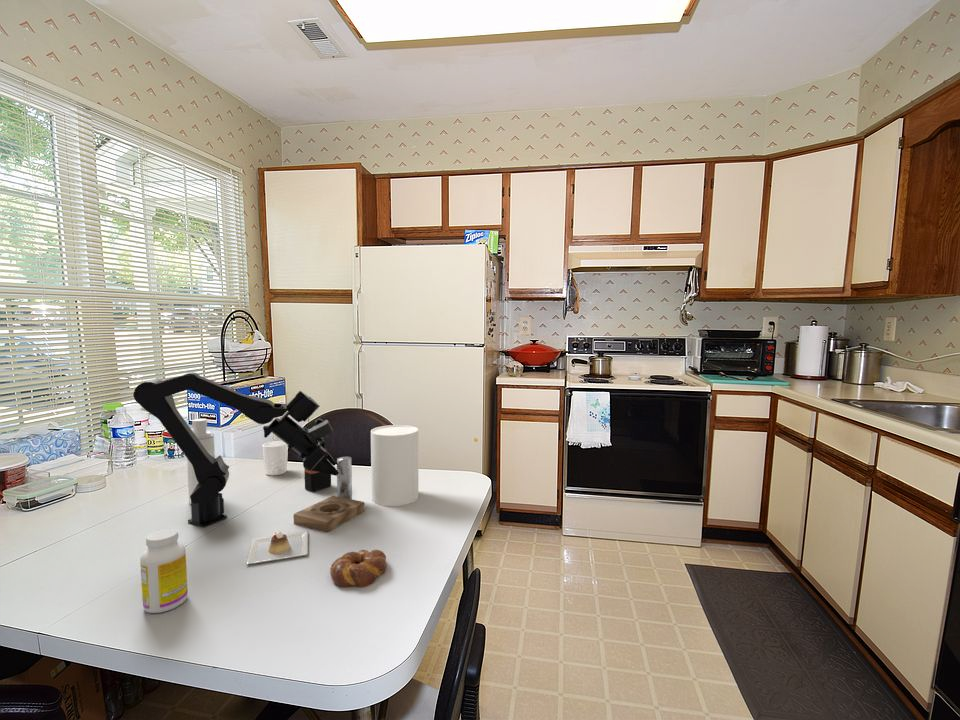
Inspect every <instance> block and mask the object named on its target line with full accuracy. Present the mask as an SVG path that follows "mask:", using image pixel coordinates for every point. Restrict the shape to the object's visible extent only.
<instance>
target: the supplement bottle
mask: <svg viewBox="0 0 960 720" xmlns="http://www.w3.org/2000/svg"><path fill="white" fill-rule="evenodd" d="M178 539H179V530H178V529H175V528H164V529H160V530H156V531H154V532H151V533H149V534H148V535H147V536H146V538H145V546H147V549H145V550H144V551H143V552H142V553H141V556H140V559H139V561H140V563H139V564H140V565H139V566H140V580H141V595H142V596H141V598H142V600H141V601H142V608H143V610H144V612H147V613H149V614H160V613H165V612H167V611H171V610H173V609H176V608H177V607H179V606H180V605H182V604H183V603H184V602H185V601H186V600H187V598H188V594H189V593H188V579H187V578H188V573H187V571H188V570H187V553H186V546H185V545H184V544H183V543H181V542H179V541H178Z"/></svg>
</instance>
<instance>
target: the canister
mask: <svg viewBox="0 0 960 720" xmlns="http://www.w3.org/2000/svg"><path fill="white" fill-rule="evenodd" d="M370 463H371V464H370V465H371V467H370V468H371V470H370V471H371V472H370V473H371V476H370V479H371V486H370V487H371V501H372V503H374V504H375V505H377V506H378V505H379V506H383V507H399V506H400V507H401V506H406V505H408V504H411V503H414V502H415V501H417V500H418V498H419V493H420V492H419V428H418V427H416V426H413V425H408V424H406V425H405V424H393V425H392V424H391V425H382V426H378V427H374V428H372V429H371V430H370Z"/></svg>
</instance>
